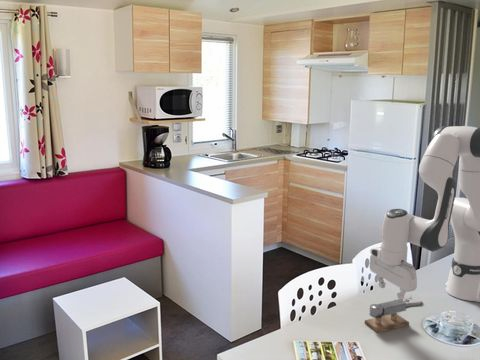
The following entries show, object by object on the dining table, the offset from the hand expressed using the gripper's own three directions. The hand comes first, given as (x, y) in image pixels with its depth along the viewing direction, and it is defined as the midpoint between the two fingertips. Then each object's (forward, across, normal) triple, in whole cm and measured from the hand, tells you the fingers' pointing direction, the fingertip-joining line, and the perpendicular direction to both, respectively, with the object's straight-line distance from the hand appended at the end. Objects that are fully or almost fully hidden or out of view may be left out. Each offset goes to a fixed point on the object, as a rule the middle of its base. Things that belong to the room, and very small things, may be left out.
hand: (390, 292), depth 164 cm
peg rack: (+12, 0, +1) cm, 12 cm away
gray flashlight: (+7, 0, +1) cm, 7 cm away
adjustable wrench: (+13, +9, -11) cm, 19 cm away
